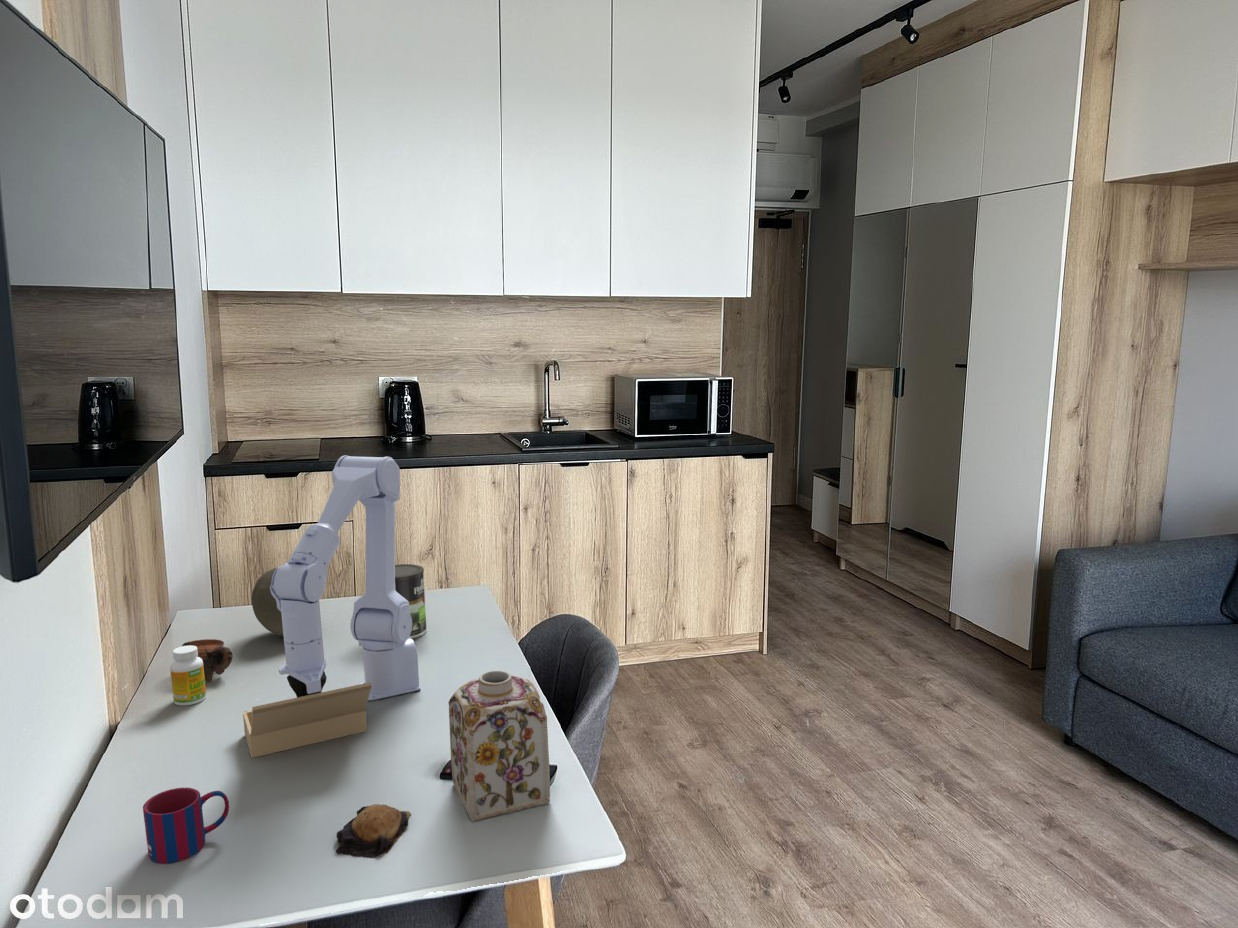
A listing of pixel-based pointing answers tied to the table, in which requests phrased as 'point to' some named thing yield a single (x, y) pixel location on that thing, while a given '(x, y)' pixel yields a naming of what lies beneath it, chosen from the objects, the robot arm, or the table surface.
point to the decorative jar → (499, 745)
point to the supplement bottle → (187, 676)
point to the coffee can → (412, 595)
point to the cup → (177, 824)
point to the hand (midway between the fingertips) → (310, 717)
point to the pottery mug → (212, 656)
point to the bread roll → (372, 831)
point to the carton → (302, 733)
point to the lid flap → (309, 708)
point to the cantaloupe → (267, 604)
